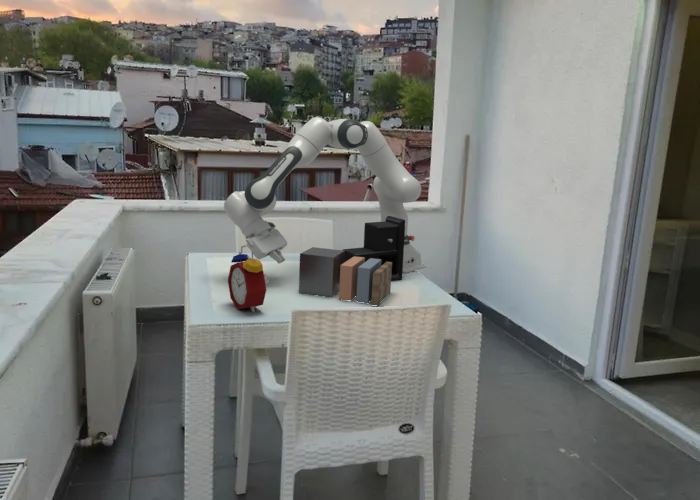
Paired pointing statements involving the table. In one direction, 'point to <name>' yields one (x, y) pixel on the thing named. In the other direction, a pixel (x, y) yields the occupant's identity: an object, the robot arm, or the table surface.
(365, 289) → the slate-blue book
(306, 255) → the iron bookend
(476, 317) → the table surface
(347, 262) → the terracotta book
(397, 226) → the bookend
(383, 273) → the walnut end board
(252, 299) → the alarm clock
